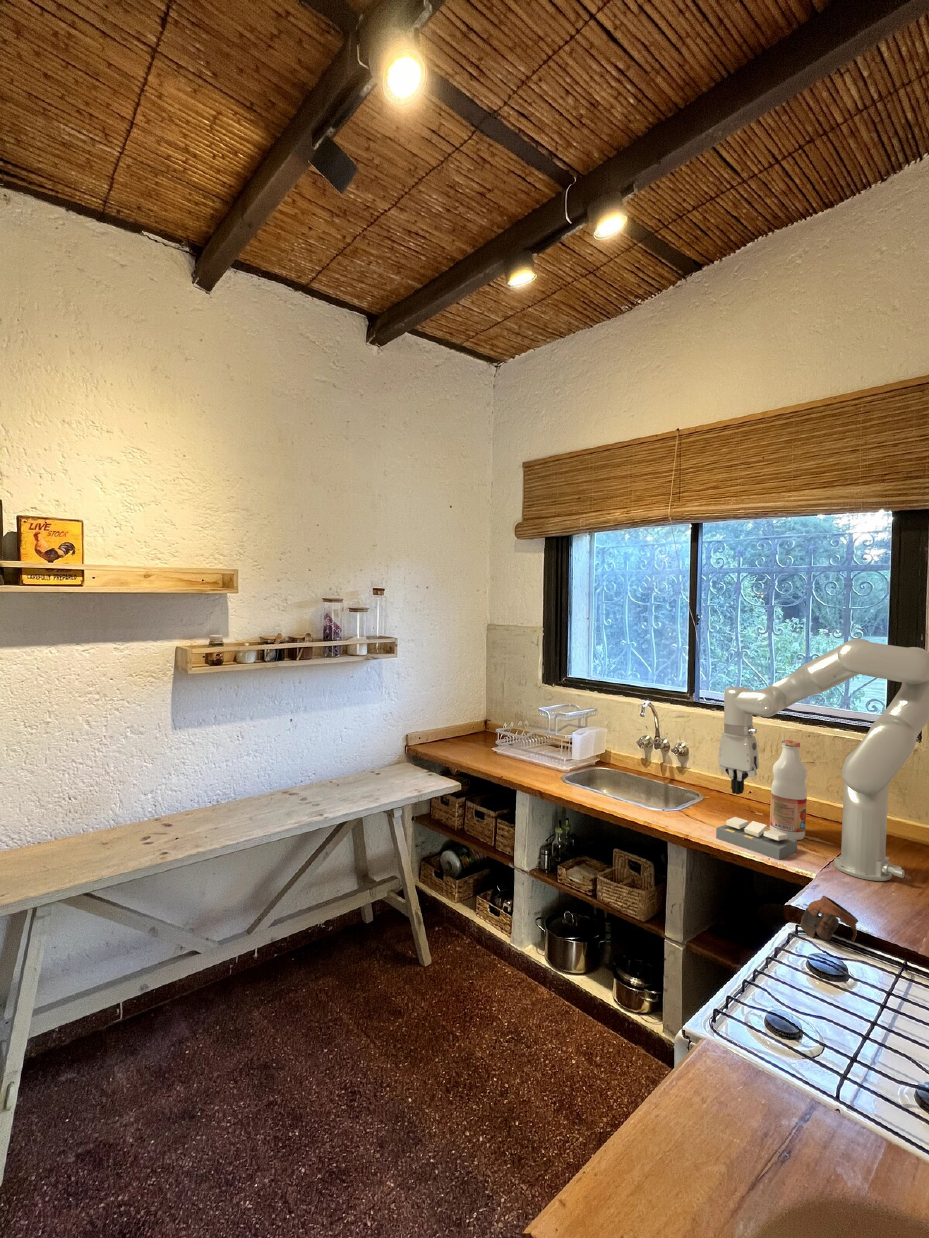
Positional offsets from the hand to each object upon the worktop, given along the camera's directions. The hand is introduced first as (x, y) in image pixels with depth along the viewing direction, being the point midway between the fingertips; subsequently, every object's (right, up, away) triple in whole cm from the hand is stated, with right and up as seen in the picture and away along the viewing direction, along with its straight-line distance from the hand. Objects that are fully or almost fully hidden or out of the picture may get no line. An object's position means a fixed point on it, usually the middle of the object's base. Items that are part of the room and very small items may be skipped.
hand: (737, 792), depth 173 cm
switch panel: (+4, -14, -3) cm, 15 cm away
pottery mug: (-5, -15, -50) cm, 52 cm away
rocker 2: (+4, -9, -3) cm, 11 cm away
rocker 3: (+7, -10, -7) cm, 14 cm away
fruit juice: (+17, -14, +6) cm, 23 cm away
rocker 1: (+1, -9, +1) cm, 9 cm away
